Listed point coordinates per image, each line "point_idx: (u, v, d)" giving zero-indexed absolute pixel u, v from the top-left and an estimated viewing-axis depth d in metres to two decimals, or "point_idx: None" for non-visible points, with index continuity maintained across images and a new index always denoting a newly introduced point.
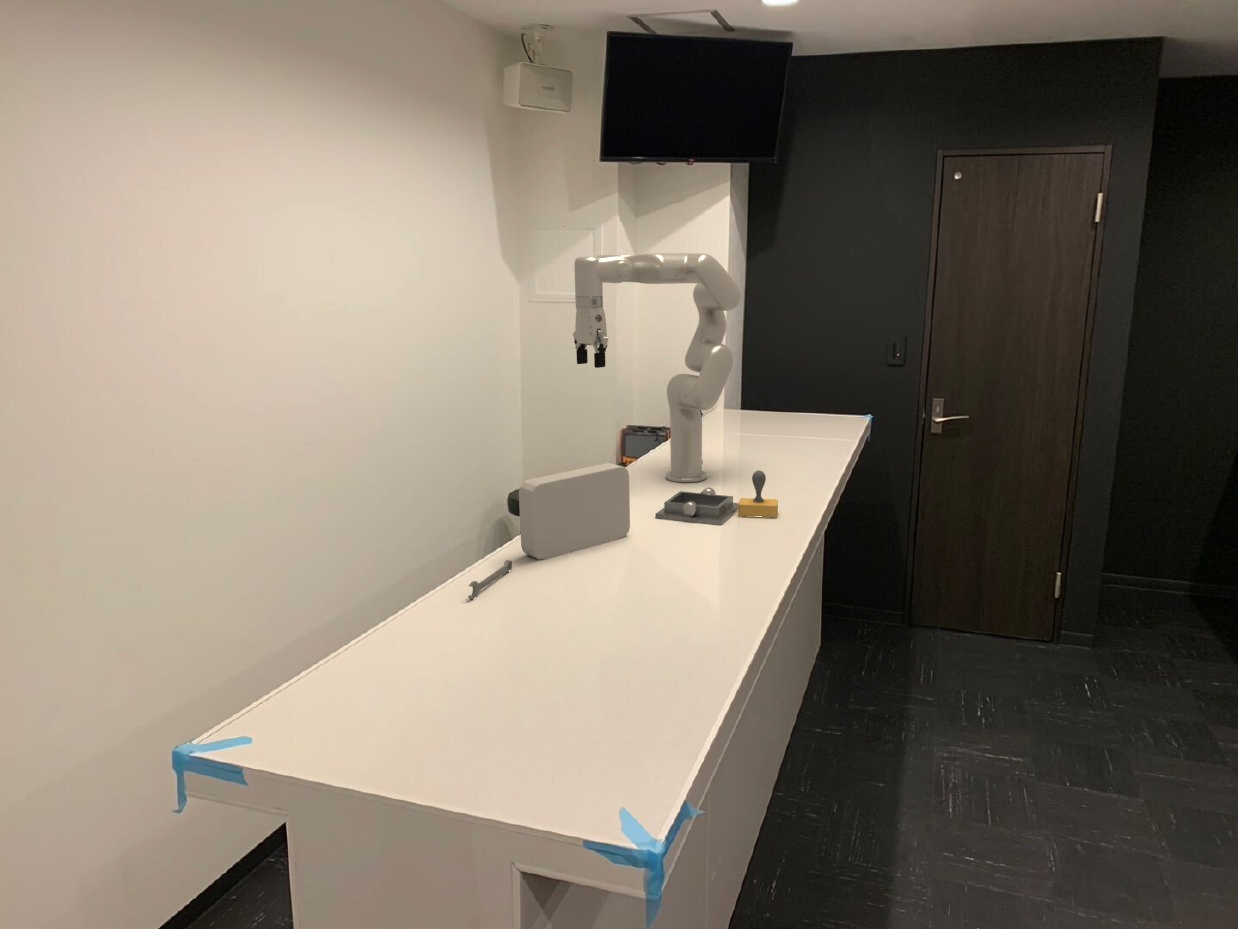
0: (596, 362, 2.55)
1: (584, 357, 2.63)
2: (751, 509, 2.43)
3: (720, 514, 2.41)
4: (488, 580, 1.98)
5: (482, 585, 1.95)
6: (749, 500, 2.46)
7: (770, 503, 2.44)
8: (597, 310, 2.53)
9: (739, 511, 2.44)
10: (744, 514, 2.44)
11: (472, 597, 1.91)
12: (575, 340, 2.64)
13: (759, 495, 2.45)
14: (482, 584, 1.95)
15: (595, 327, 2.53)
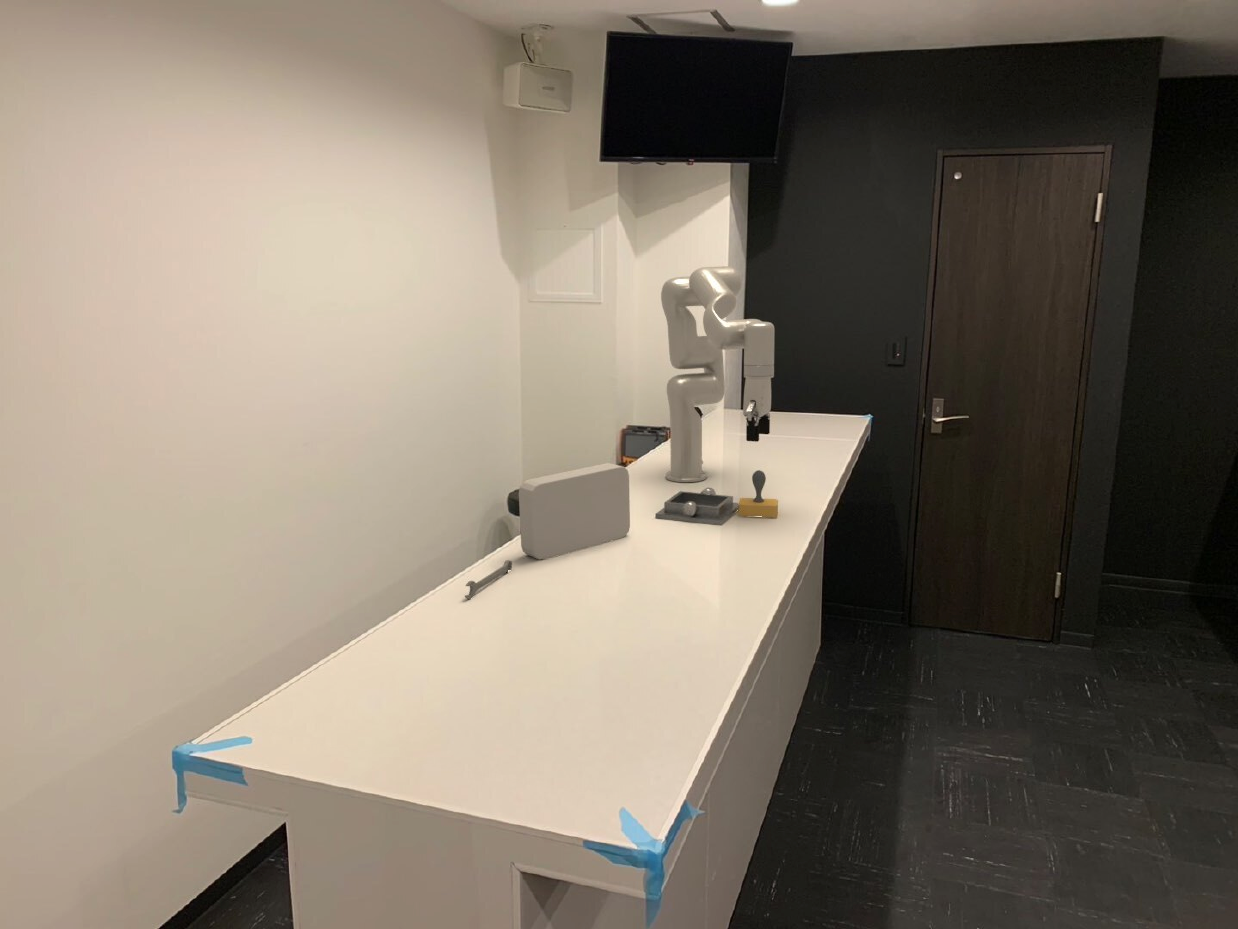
0: None
1: None
2: (751, 509, 2.43)
3: (720, 514, 2.41)
4: (486, 580, 1.98)
5: (480, 585, 1.95)
6: (749, 500, 2.46)
7: (770, 503, 2.44)
8: None
9: (739, 511, 2.44)
10: (744, 514, 2.44)
11: (469, 597, 1.92)
12: (753, 417, 2.34)
13: (759, 495, 2.45)
14: (480, 584, 1.95)
15: None
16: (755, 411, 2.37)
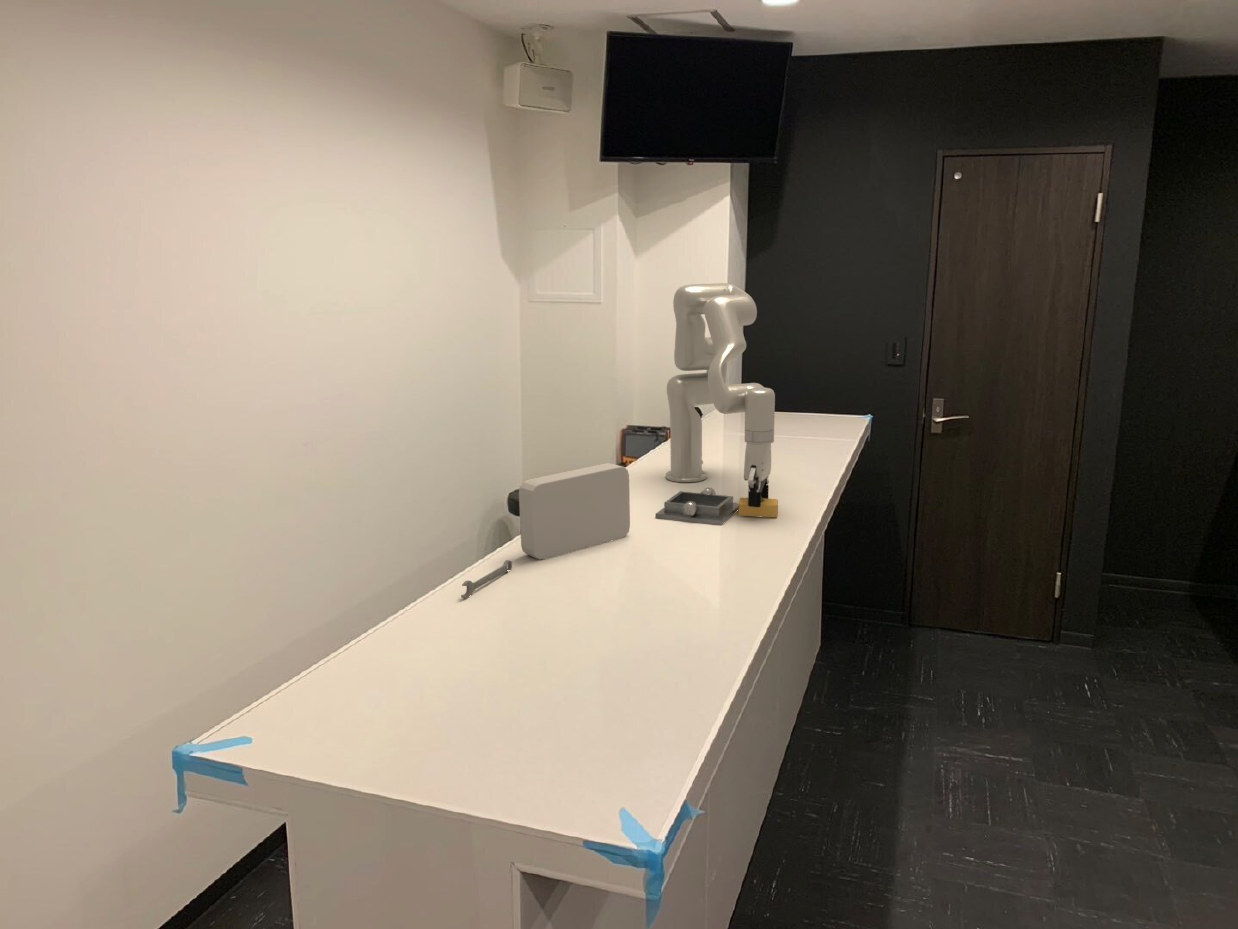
0: None
1: None
2: (750, 509, 2.43)
3: (720, 514, 2.41)
4: (484, 580, 1.98)
5: (477, 585, 1.96)
6: None
7: (770, 502, 2.44)
8: None
9: (738, 511, 2.44)
10: (744, 514, 2.44)
11: (465, 596, 1.92)
12: (755, 484, 2.39)
13: None
14: (477, 584, 1.96)
15: None
16: (755, 475, 2.41)
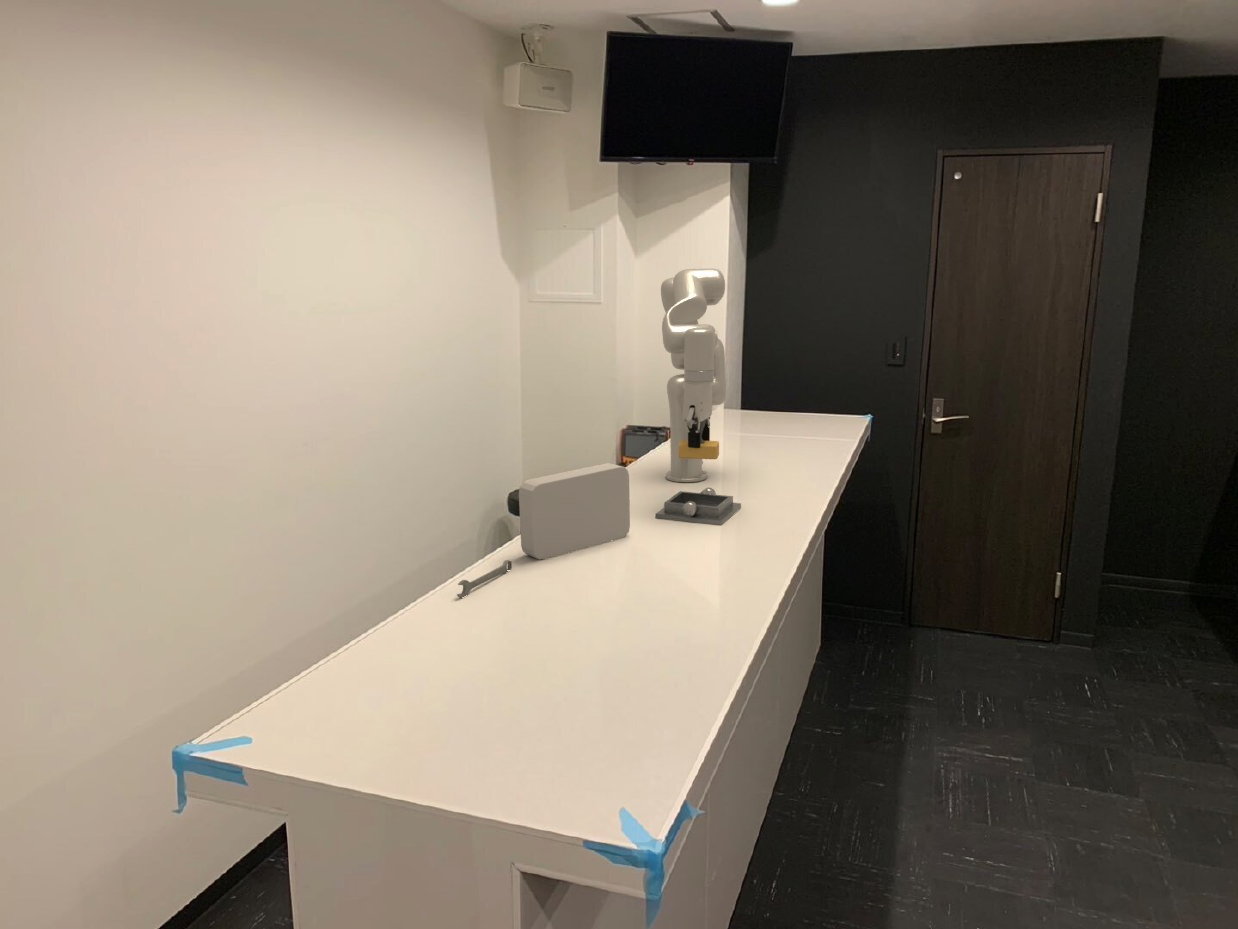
0: None
1: None
2: (691, 450, 2.42)
3: (720, 514, 2.41)
4: (482, 580, 1.98)
5: (474, 584, 1.96)
6: None
7: (710, 444, 2.42)
8: None
9: (679, 452, 2.43)
10: (684, 455, 2.43)
11: (461, 596, 1.92)
12: (694, 424, 2.38)
13: None
14: (474, 583, 1.96)
15: None
16: (695, 416, 2.40)
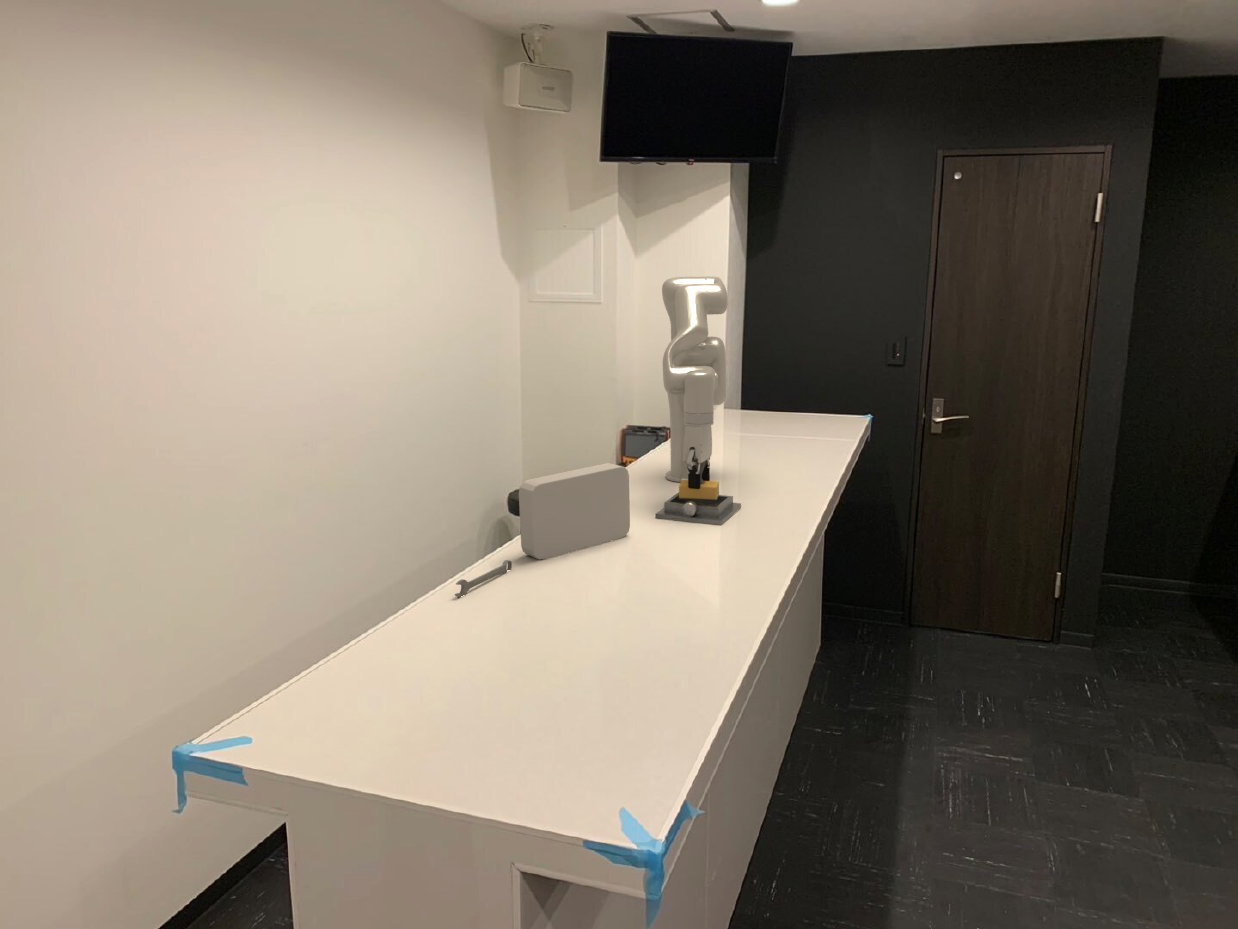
0: None
1: None
2: (691, 491, 2.45)
3: (720, 514, 2.41)
4: (480, 579, 1.98)
5: (472, 584, 1.96)
6: None
7: (710, 484, 2.45)
8: None
9: (679, 493, 2.46)
10: (684, 496, 2.45)
11: (459, 595, 1.93)
12: (694, 466, 2.40)
13: None
14: (472, 583, 1.96)
15: None
16: (695, 457, 2.42)
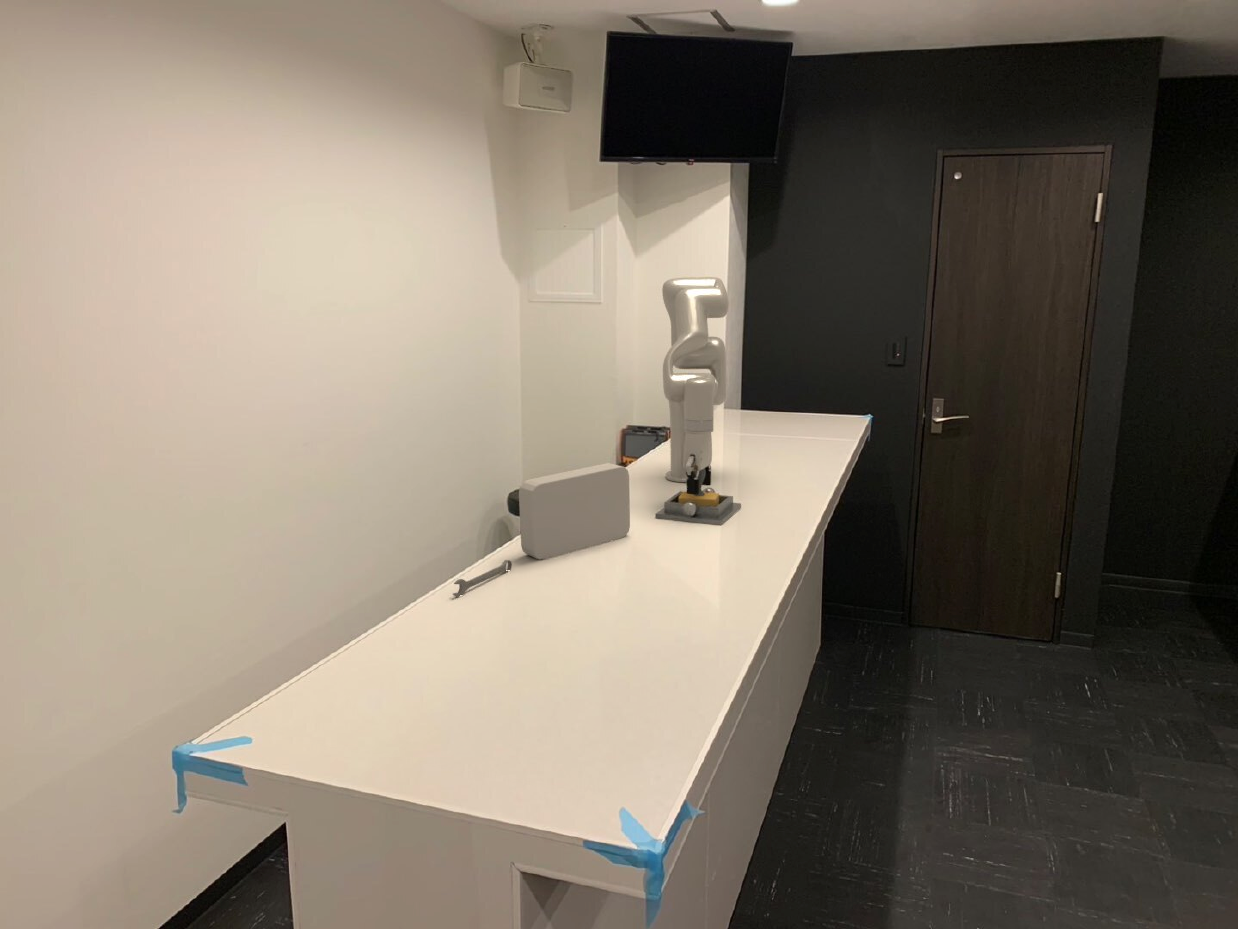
0: None
1: None
2: None
3: (720, 514, 2.41)
4: (479, 579, 1.99)
5: (471, 583, 1.96)
6: (690, 494, 2.49)
7: (710, 496, 2.46)
8: None
9: None
10: None
11: (457, 595, 1.93)
12: (693, 472, 2.39)
13: (699, 489, 2.47)
14: (471, 582, 1.96)
15: None
16: (695, 465, 2.43)
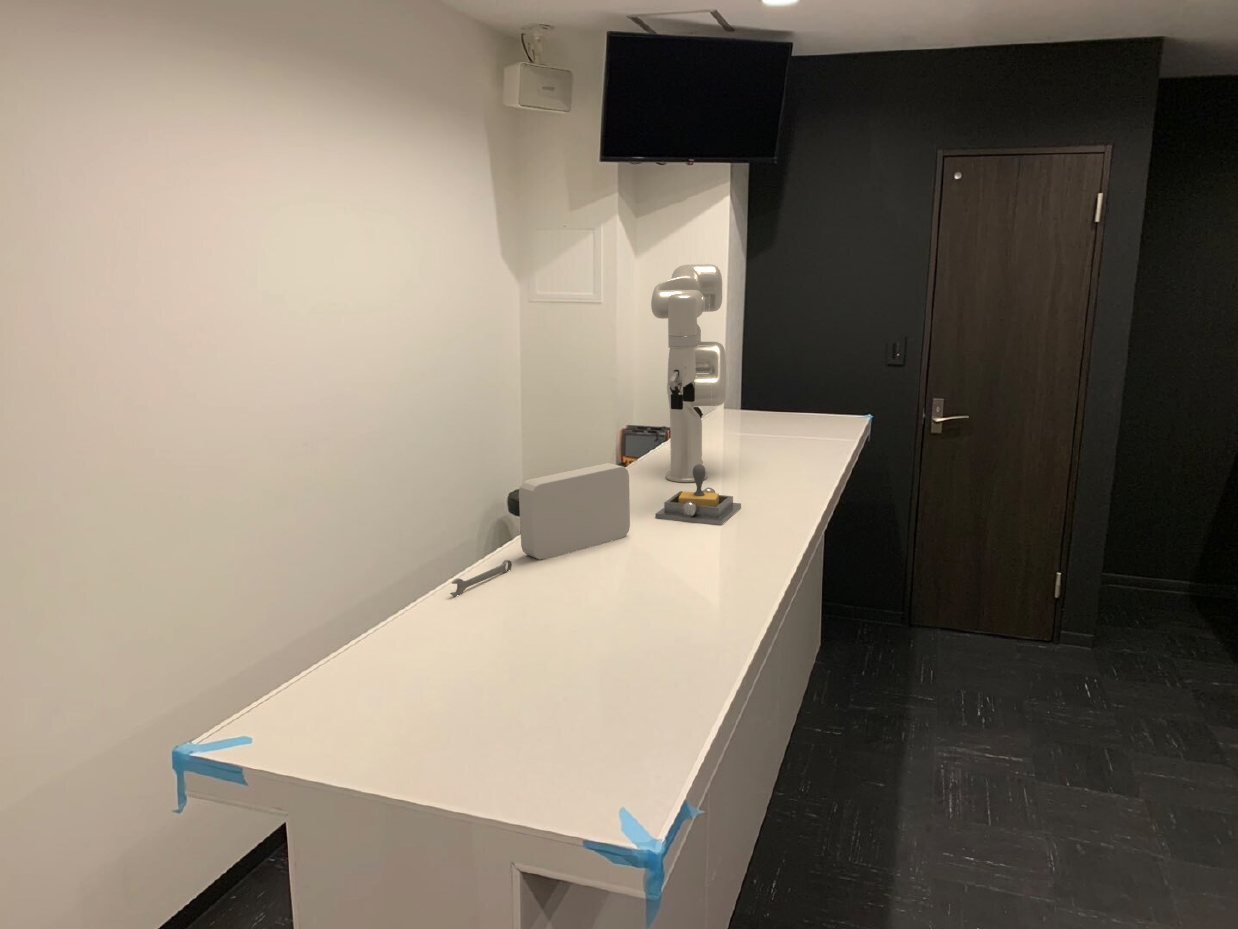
0: None
1: None
2: None
3: (720, 514, 2.41)
4: (478, 579, 1.99)
5: (469, 583, 1.97)
6: (690, 494, 2.49)
7: (710, 496, 2.46)
8: None
9: None
10: None
11: (455, 594, 1.93)
12: (677, 386, 2.42)
13: (699, 489, 2.47)
14: (469, 582, 1.97)
15: None
16: (679, 380, 2.45)
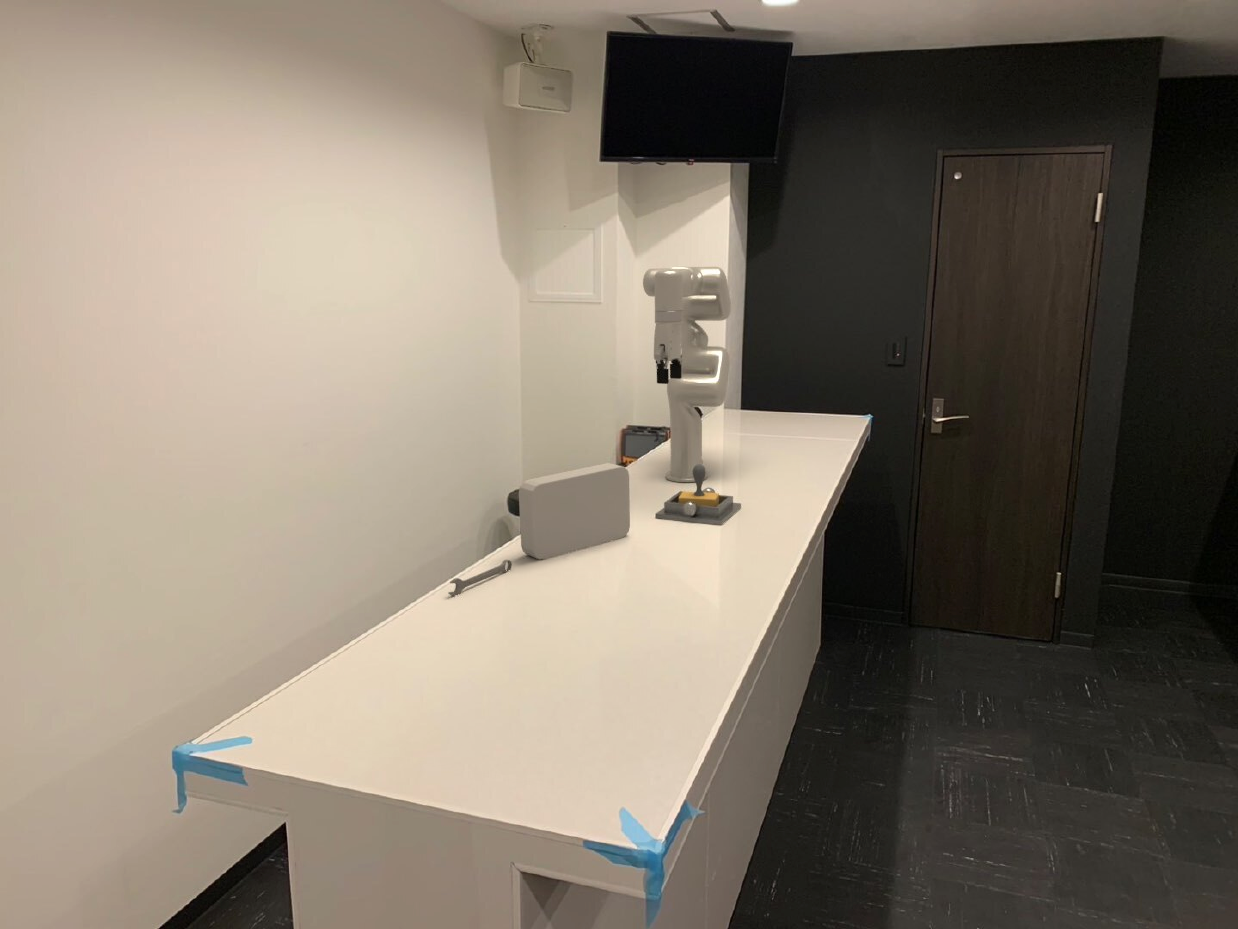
0: None
1: None
2: None
3: (720, 514, 2.41)
4: (477, 579, 1.99)
5: (467, 583, 1.97)
6: (690, 494, 2.49)
7: (710, 496, 2.46)
8: None
9: None
10: None
11: (453, 594, 1.93)
12: (662, 360, 2.47)
13: (699, 489, 2.47)
14: (468, 582, 1.97)
15: None
16: (665, 355, 2.50)
